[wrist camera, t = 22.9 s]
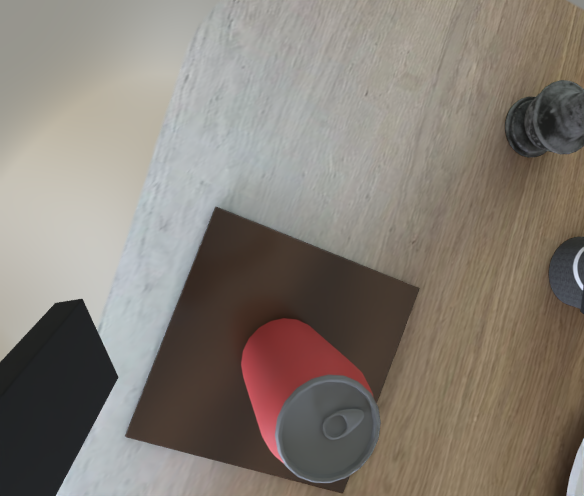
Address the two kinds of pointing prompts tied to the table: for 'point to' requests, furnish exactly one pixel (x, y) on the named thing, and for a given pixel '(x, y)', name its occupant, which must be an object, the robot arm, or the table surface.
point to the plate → (577, 474)
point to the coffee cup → (568, 272)
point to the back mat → (241, 326)
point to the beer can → (309, 401)
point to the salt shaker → (548, 121)
